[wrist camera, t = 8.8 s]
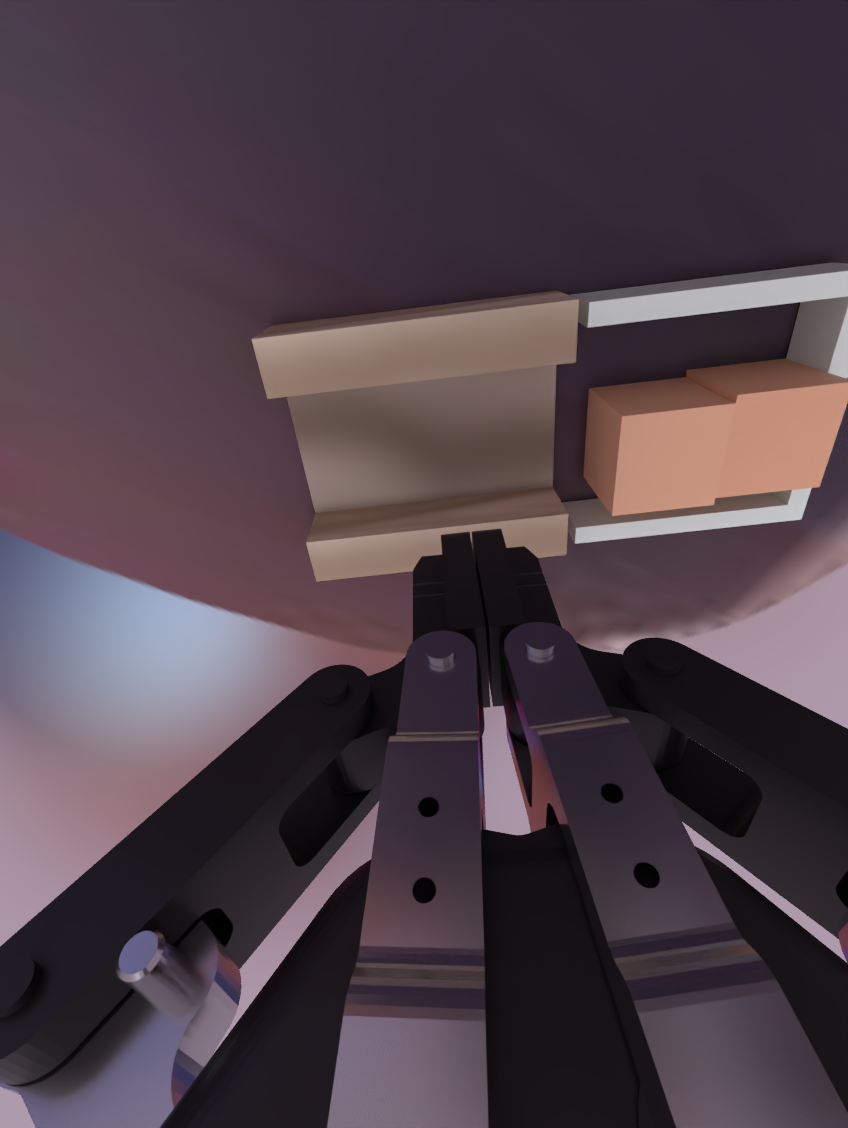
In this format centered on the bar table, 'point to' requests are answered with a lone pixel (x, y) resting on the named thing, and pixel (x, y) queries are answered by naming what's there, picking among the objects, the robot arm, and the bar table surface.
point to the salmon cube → (776, 423)
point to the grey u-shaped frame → (820, 340)
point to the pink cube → (656, 445)
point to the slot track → (425, 426)
